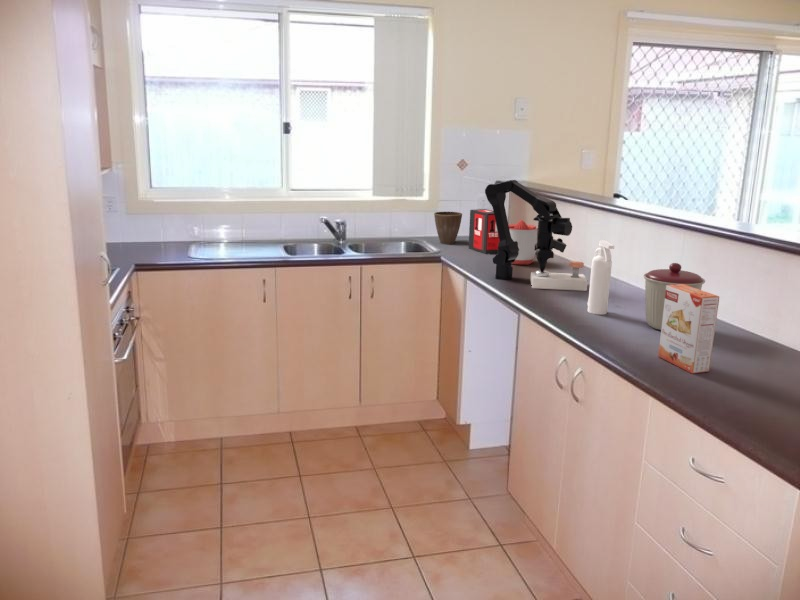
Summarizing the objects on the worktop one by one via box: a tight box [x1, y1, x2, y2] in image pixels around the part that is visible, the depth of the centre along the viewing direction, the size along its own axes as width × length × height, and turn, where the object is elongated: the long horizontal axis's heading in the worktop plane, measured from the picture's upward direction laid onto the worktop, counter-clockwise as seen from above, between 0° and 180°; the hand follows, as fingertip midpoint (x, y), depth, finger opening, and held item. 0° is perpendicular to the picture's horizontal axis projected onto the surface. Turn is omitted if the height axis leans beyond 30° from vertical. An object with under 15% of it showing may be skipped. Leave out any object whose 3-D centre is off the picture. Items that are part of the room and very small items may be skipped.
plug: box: [534, 269, 550, 277], centre depth 273 cm, size 6×6×5 cm
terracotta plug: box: [568, 260, 585, 276], centre depth 271 cm, size 6×6×5 cm
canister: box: [643, 262, 706, 331], centre depth 216 cm, size 18×18×21 cm
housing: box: [529, 271, 588, 292], centre depth 273 cm, size 21×12×4 cm, turn 83°
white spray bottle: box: [586, 239, 615, 315], centre depth 234 cm, size 7×12×25 cm, turn 9°
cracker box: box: [657, 284, 720, 374], centre depth 182 cm, size 14×6×21 cm, turn 17°
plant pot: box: [433, 211, 463, 245], centre depth 366 cm, size 15×15×16 cm
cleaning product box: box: [468, 208, 499, 255], centre depth 345 cm, size 16×9×20 cm, turn 25°
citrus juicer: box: [508, 219, 538, 266], centre depth 316 cm, size 16×17×20 cm
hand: (542, 271), depth 273 cm, fingers closed, pressing on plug
